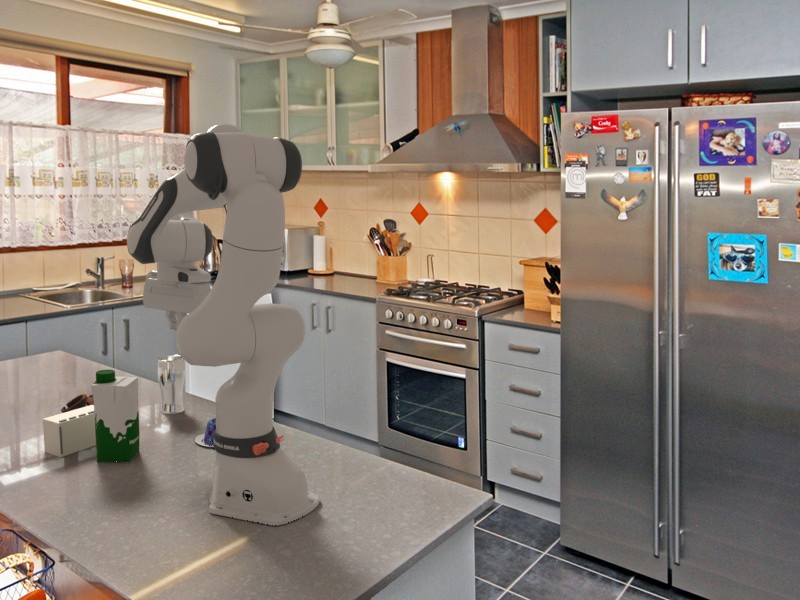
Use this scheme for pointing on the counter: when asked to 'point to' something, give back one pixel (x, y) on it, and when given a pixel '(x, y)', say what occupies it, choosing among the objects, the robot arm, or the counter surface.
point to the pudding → (207, 434)
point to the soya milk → (116, 416)
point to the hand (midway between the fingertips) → (176, 329)
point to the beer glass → (171, 383)
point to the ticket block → (69, 431)
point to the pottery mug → (78, 403)
